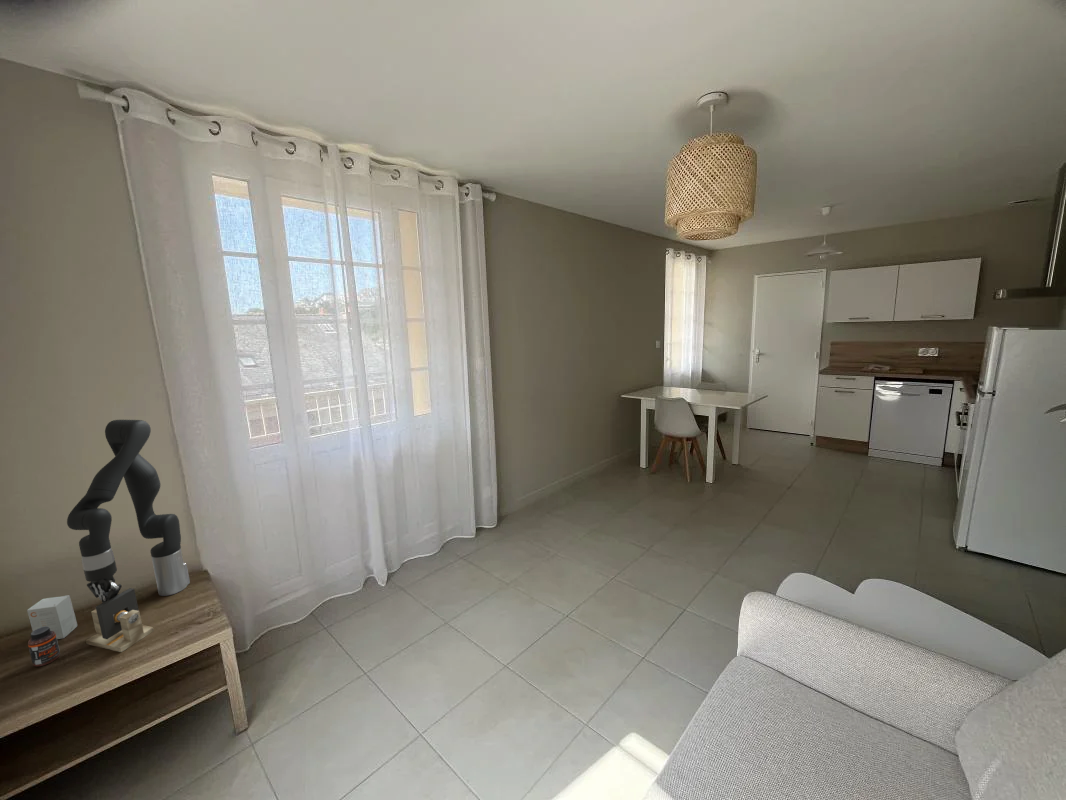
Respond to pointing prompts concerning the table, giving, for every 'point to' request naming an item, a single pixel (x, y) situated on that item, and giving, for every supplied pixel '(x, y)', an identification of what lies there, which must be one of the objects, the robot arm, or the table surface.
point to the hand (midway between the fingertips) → (109, 607)
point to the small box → (53, 615)
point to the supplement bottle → (43, 646)
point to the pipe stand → (126, 636)
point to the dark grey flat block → (115, 611)
